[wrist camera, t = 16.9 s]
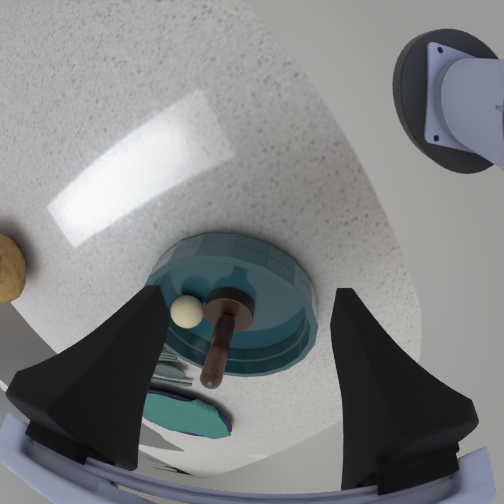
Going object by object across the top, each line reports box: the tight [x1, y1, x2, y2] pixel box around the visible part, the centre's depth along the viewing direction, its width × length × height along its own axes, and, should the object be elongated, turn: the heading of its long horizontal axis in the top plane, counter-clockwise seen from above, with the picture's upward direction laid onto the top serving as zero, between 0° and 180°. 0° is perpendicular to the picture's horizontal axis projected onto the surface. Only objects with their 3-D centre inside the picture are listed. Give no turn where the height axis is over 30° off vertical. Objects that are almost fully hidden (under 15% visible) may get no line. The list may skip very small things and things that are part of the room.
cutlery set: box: [143, 351, 232, 439], centre depth 40 cm, size 20×30×2 cm, turn 7°
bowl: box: [144, 233, 318, 377], centre depth 25 cm, size 15×15×4 cm
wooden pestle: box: [200, 287, 255, 389], centre depth 22 cm, size 4×4×9 cm
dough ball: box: [171, 295, 203, 328], centre depth 25 cm, size 3×3×3 cm
